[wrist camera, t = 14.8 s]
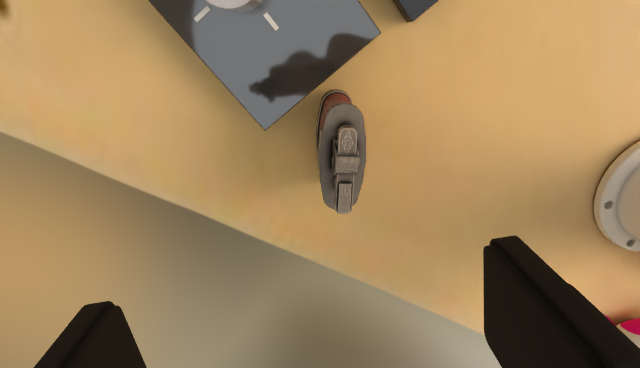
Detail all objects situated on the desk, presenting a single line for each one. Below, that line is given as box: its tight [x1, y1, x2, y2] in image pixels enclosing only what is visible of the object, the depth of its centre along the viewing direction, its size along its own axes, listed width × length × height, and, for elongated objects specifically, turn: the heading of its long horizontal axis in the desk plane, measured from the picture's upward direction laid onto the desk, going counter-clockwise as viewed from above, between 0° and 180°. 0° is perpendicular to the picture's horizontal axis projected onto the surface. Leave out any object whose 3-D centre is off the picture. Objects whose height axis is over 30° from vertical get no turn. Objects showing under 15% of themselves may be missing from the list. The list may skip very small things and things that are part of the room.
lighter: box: [316, 90, 366, 214], centre depth 31 cm, size 8×3×10 cm, turn 178°
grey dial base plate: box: [148, 0, 381, 130], centre depth 30 cm, size 15×12×3 cm
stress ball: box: [606, 316, 640, 348], centre depth 43 cm, size 8×8×7 cm
